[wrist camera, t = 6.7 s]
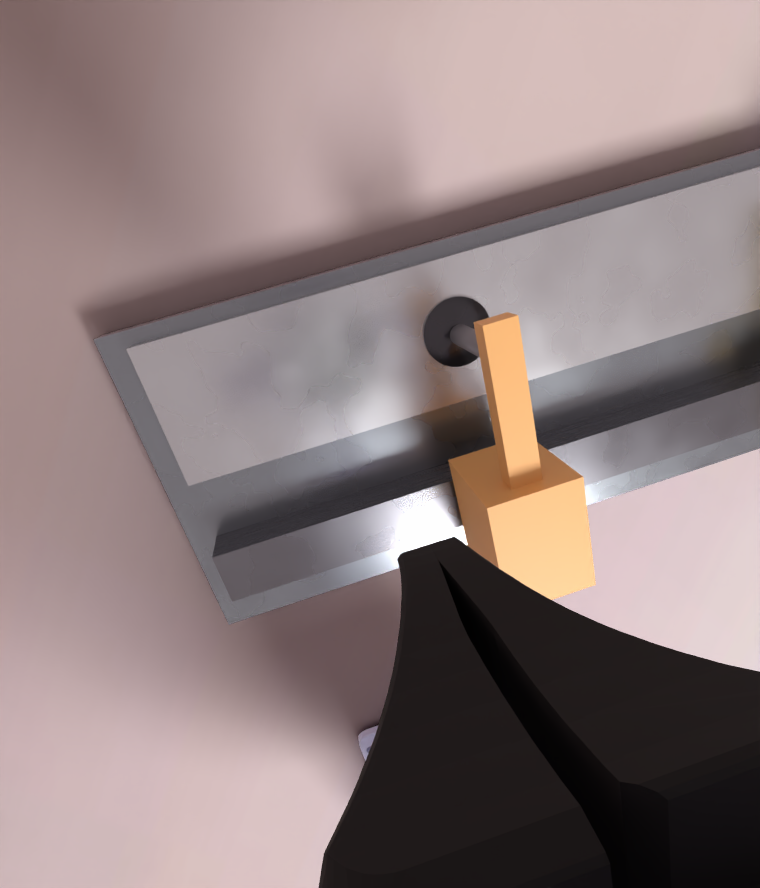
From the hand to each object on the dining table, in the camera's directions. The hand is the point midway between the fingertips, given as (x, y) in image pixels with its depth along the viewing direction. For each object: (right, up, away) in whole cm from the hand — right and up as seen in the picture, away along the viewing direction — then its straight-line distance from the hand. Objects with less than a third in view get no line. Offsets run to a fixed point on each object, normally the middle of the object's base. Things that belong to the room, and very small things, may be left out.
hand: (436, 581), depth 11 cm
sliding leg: (+2, +4, +8) cm, 9 cm away
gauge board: (+5, +6, +9) cm, 12 cm away
